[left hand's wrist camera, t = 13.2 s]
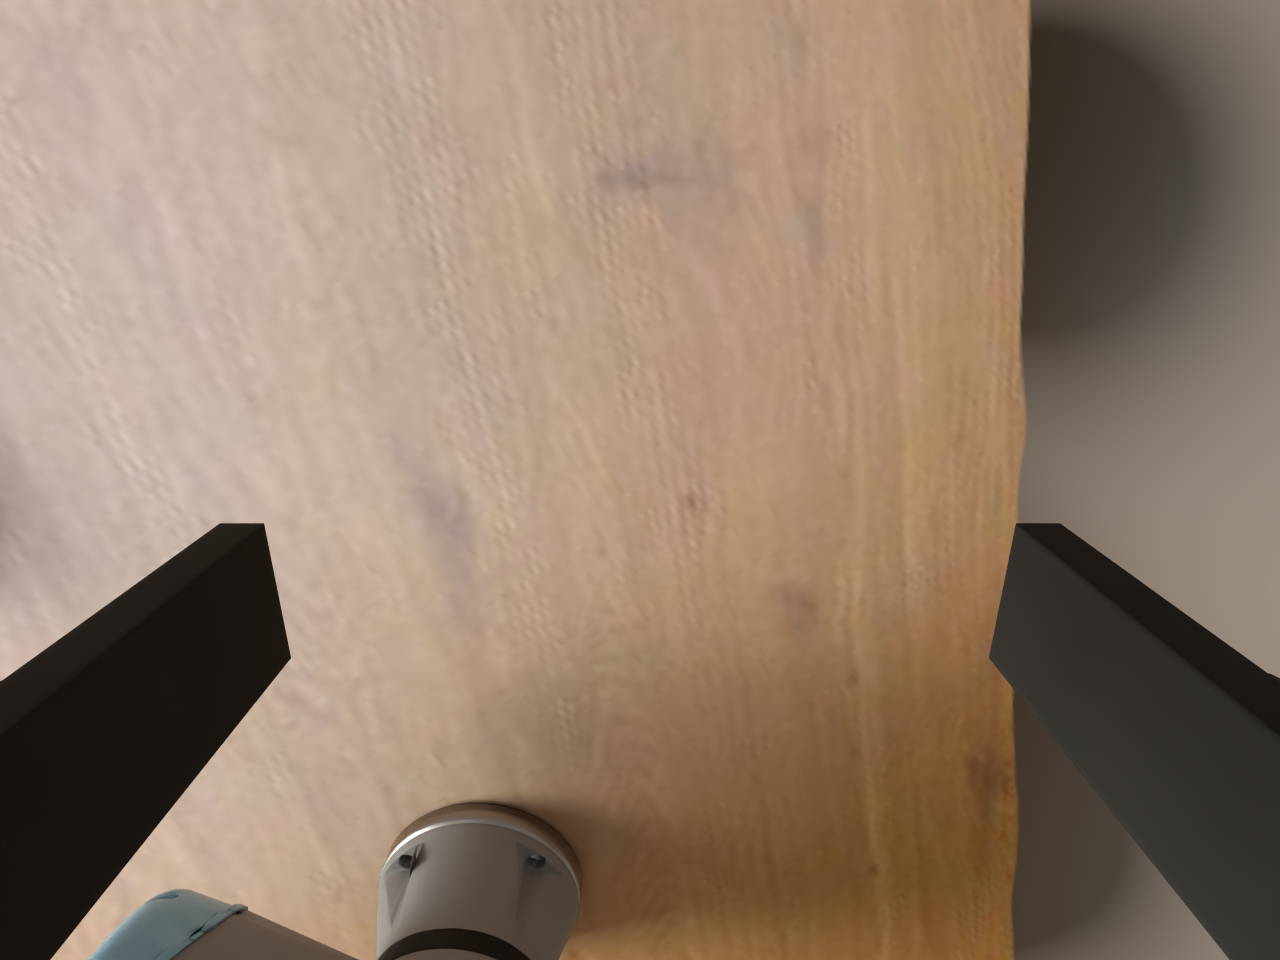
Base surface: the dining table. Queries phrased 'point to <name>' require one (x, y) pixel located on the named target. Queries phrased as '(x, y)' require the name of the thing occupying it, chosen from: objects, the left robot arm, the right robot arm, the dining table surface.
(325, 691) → the dining table surface
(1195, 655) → the left robot arm
